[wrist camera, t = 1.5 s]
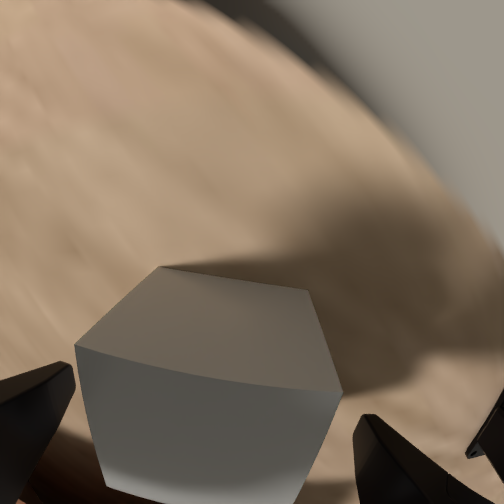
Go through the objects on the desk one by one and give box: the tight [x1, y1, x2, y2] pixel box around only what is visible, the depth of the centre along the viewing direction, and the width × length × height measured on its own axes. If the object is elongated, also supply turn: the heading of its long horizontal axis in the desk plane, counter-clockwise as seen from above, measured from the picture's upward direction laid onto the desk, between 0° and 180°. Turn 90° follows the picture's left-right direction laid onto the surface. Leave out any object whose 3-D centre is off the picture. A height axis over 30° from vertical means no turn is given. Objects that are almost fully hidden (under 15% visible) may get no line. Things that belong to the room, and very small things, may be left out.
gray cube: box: [74, 267, 343, 504], centre depth 9 cm, size 6×6×6 cm
